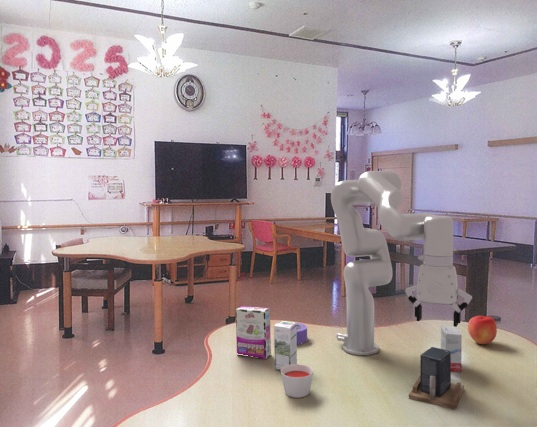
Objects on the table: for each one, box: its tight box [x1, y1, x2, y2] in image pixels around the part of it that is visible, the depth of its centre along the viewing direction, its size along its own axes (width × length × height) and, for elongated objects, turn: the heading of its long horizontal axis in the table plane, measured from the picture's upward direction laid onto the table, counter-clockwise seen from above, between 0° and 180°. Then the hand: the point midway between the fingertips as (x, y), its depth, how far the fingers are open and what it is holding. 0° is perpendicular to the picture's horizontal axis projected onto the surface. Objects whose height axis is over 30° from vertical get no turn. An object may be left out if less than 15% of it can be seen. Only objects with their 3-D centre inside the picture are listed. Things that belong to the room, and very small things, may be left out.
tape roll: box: [295, 322, 308, 345], centre depth 169 cm, size 12×12×5 cm
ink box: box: [440, 325, 463, 373], centre depth 142 cm, size 9×5×12 cm, turn 168°
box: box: [419, 346, 452, 397], centre depth 124 cm, size 8×6×11 cm
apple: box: [467, 315, 498, 345], centre depth 162 cm, size 10×10×10 cm
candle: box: [280, 363, 314, 399], centre depth 126 cm, size 9×9×6 cm
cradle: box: [408, 375, 465, 410], centre depth 124 cm, size 12×13×7 cm
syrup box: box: [273, 320, 298, 371], centre depth 142 cm, size 6×6×14 cm
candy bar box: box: [235, 305, 272, 360], centre depth 154 cm, size 11×5×16 cm, turn 68°
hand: (437, 322), depth 123 cm, fingers open, 9 cm apart
